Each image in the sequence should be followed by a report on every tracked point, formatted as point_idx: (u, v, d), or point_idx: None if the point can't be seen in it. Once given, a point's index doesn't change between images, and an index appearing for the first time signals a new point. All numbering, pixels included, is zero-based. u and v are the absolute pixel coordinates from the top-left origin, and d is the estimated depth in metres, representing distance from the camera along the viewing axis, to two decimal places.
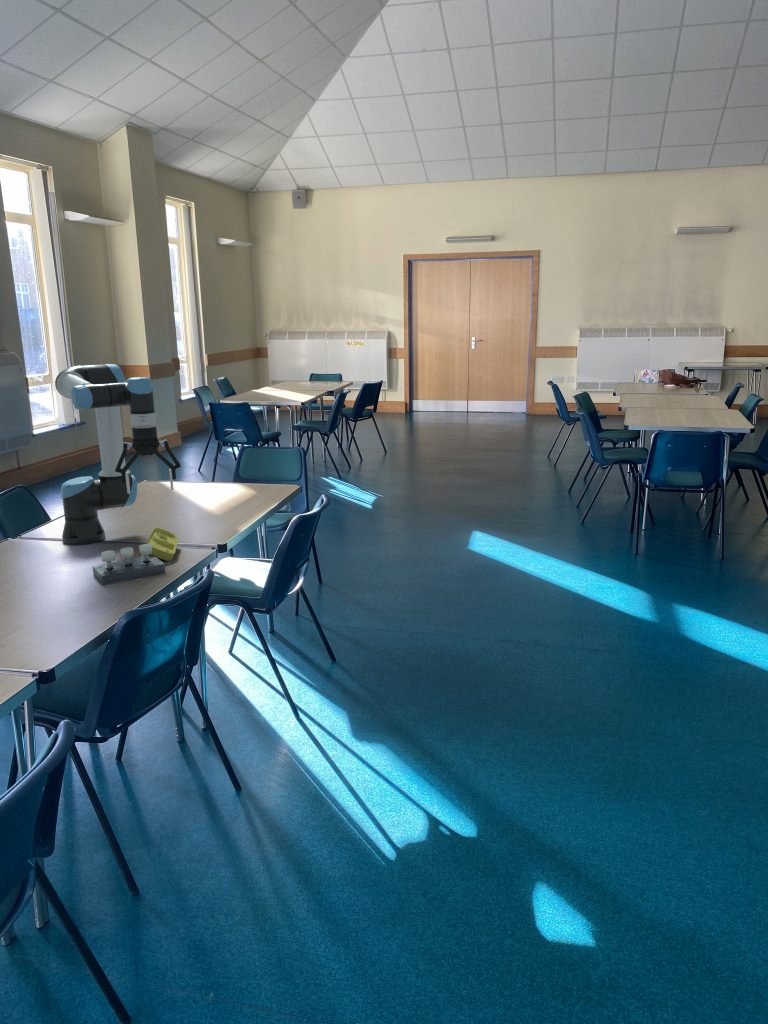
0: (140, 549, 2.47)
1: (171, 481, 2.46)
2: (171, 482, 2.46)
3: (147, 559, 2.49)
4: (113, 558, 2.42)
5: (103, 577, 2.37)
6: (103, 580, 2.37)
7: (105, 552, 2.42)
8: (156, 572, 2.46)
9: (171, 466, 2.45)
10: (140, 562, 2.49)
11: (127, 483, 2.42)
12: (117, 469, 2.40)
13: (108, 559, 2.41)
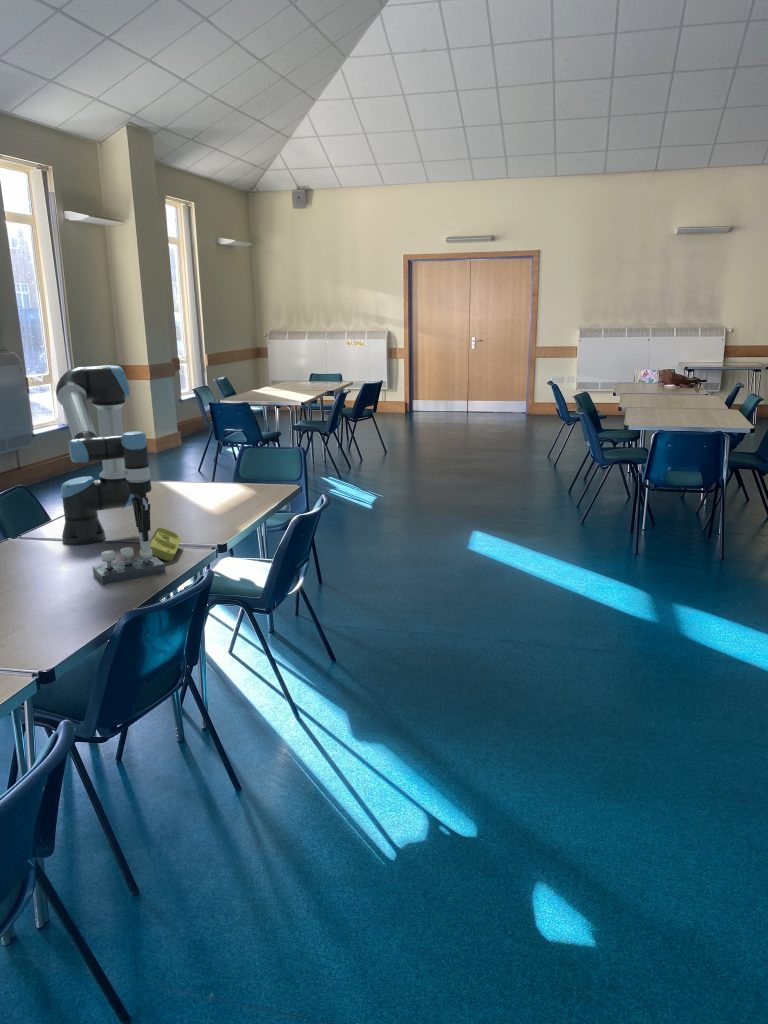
0: (140, 554, 2.47)
1: (141, 542, 2.47)
2: (141, 543, 2.47)
3: None
4: (113, 558, 2.42)
5: (103, 577, 2.37)
6: (103, 580, 2.37)
7: (105, 552, 2.42)
8: (156, 572, 2.46)
9: (140, 528, 2.45)
10: (140, 562, 2.49)
11: (140, 540, 2.47)
12: (136, 524, 2.48)
13: (108, 559, 2.41)
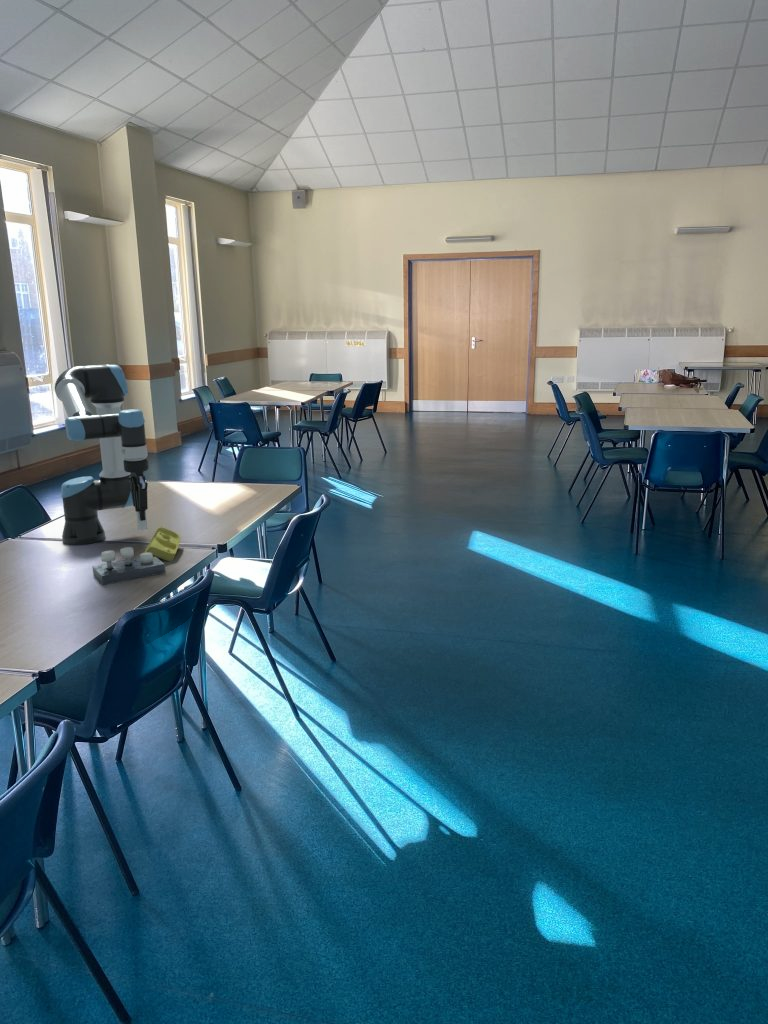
0: (141, 558, 2.48)
1: (138, 521, 2.45)
2: (138, 522, 2.45)
3: None
4: (113, 558, 2.42)
5: (103, 577, 2.37)
6: (103, 580, 2.37)
7: (105, 552, 2.42)
8: (156, 572, 2.46)
9: (137, 507, 2.43)
10: (140, 562, 2.49)
11: (137, 519, 2.45)
12: (133, 503, 2.46)
13: (108, 559, 2.41)
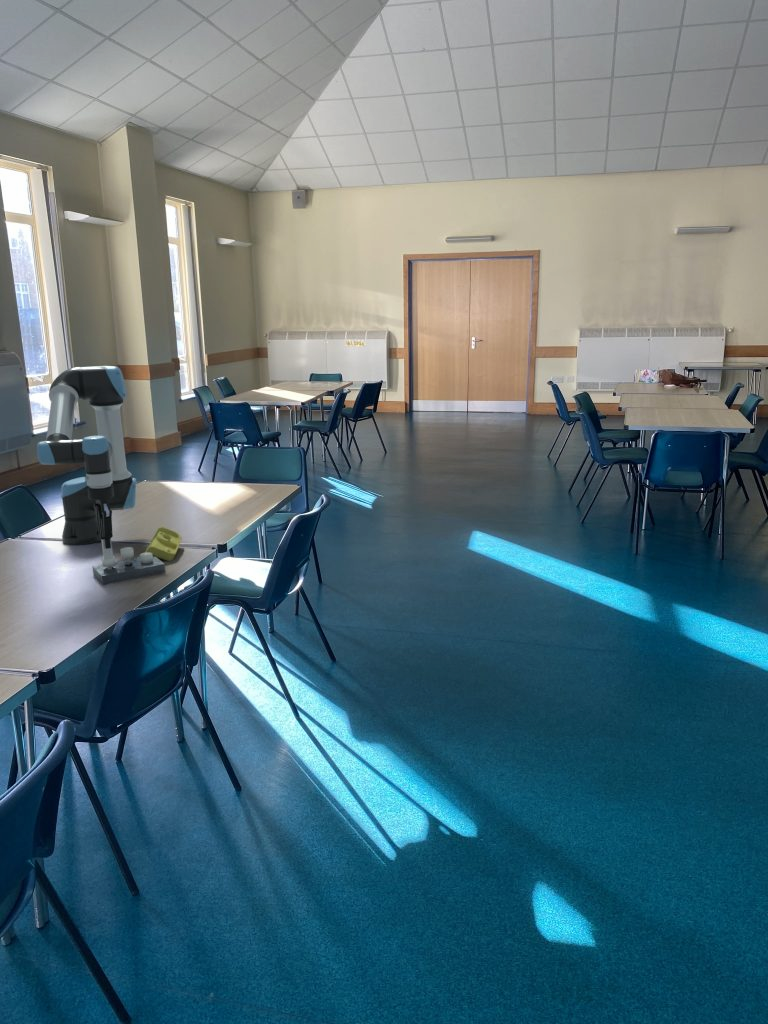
0: (141, 558, 2.48)
1: (103, 549, 2.40)
2: (103, 550, 2.40)
3: None
4: (114, 563, 2.42)
5: (103, 577, 2.37)
6: (103, 580, 2.37)
7: None
8: (156, 572, 2.46)
9: (102, 535, 2.38)
10: (140, 562, 2.49)
11: (102, 547, 2.41)
12: (98, 531, 2.42)
13: (109, 564, 2.41)
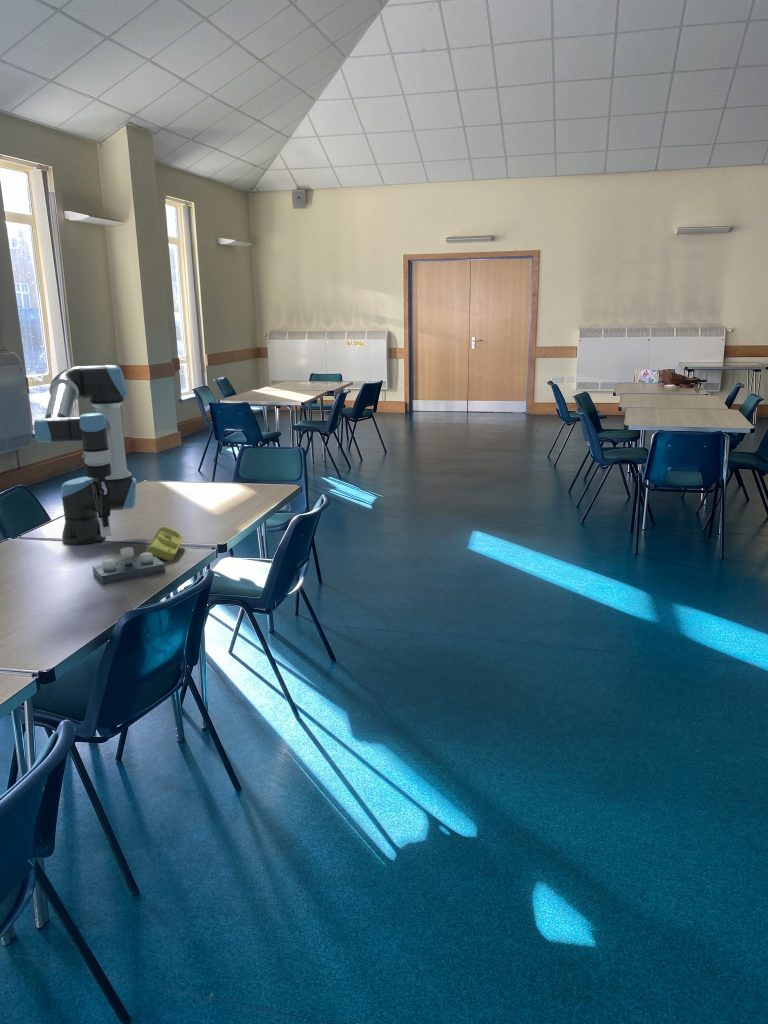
0: (141, 558, 2.48)
1: (101, 528, 2.39)
2: (101, 529, 2.39)
3: None
4: (114, 567, 2.42)
5: (103, 577, 2.37)
6: (103, 580, 2.37)
7: (106, 561, 2.43)
8: (156, 572, 2.46)
9: (100, 513, 2.37)
10: (140, 562, 2.49)
11: (100, 526, 2.39)
12: (96, 509, 2.40)
13: (109, 568, 2.41)
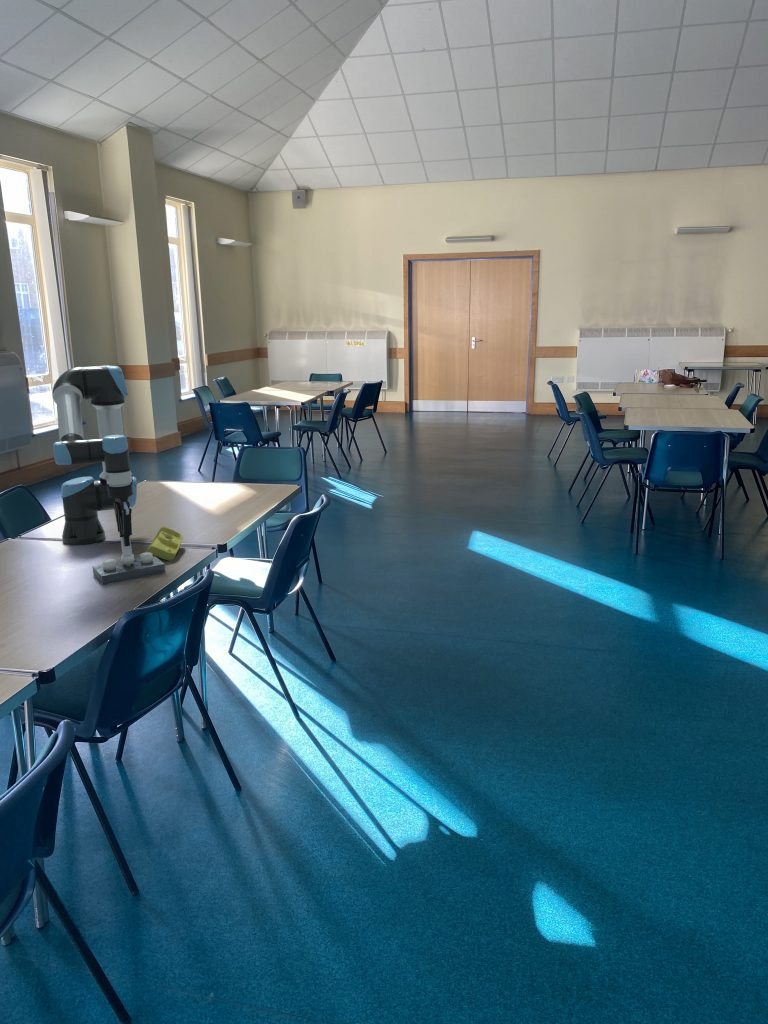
0: (141, 558, 2.48)
1: (122, 547, 2.44)
2: (122, 548, 2.44)
3: None
4: (114, 567, 2.42)
5: (103, 577, 2.37)
6: (103, 580, 2.37)
7: (106, 561, 2.43)
8: (156, 572, 2.46)
9: (122, 532, 2.42)
10: (140, 562, 2.49)
11: (121, 545, 2.44)
12: (118, 529, 2.45)
13: (109, 568, 2.41)
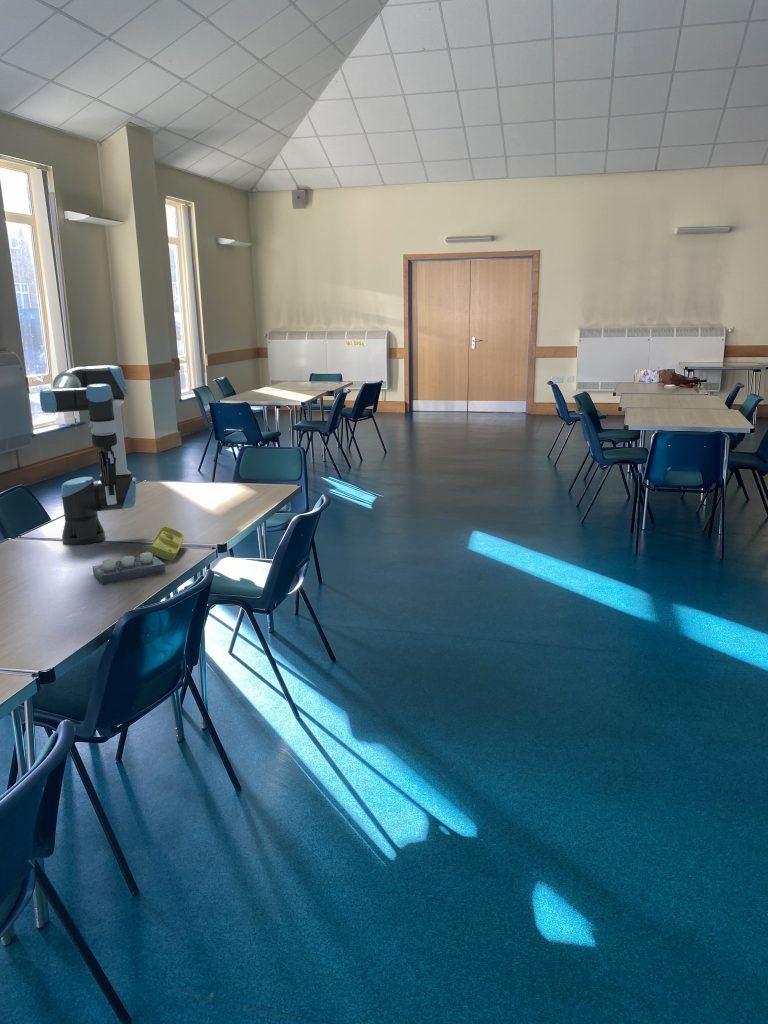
0: (141, 558, 2.48)
1: (107, 496, 2.46)
2: (107, 497, 2.46)
3: None
4: (114, 567, 2.42)
5: (103, 577, 2.37)
6: (103, 580, 2.37)
7: (106, 561, 2.43)
8: (156, 572, 2.46)
9: (106, 481, 2.43)
10: (140, 562, 2.49)
11: (106, 494, 2.46)
12: (102, 478, 2.47)
13: (109, 568, 2.41)
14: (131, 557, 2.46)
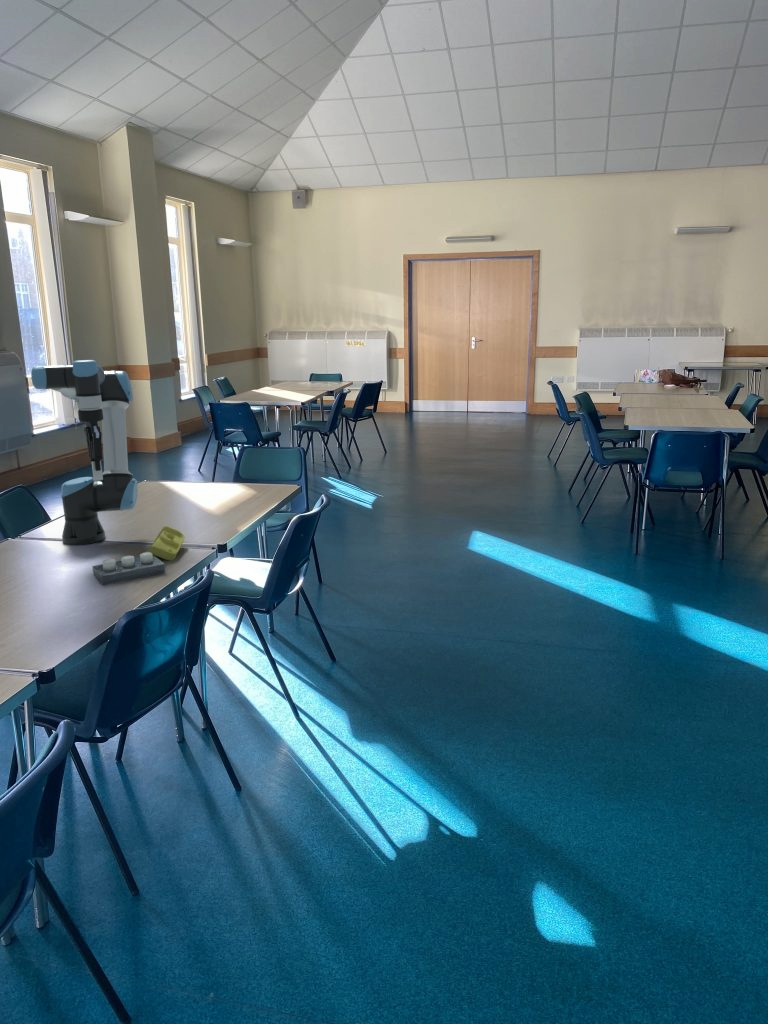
0: (141, 558, 2.48)
1: (93, 471, 2.48)
2: (93, 472, 2.48)
3: None
4: (114, 567, 2.42)
5: (103, 577, 2.37)
6: (103, 580, 2.37)
7: (106, 561, 2.43)
8: (156, 572, 2.46)
9: (92, 457, 2.46)
10: (140, 562, 2.49)
11: (92, 470, 2.49)
12: (89, 454, 2.50)
13: (109, 568, 2.41)
14: (131, 557, 2.46)
